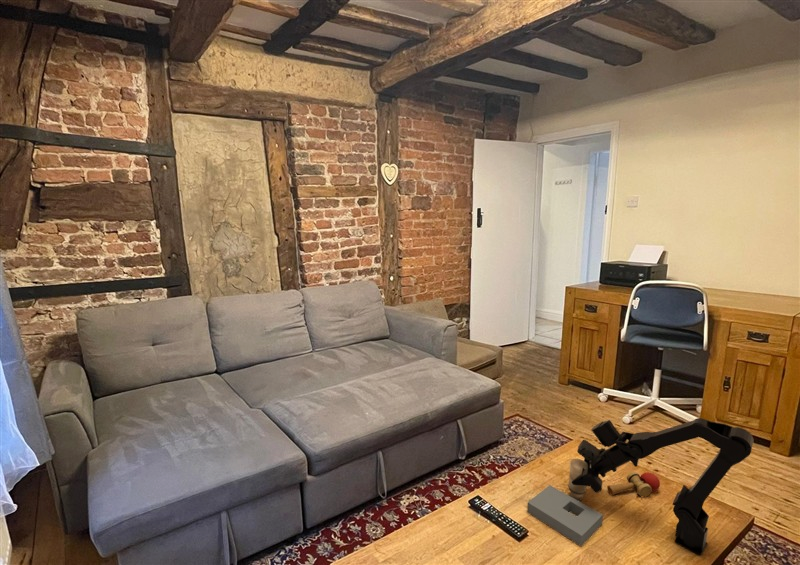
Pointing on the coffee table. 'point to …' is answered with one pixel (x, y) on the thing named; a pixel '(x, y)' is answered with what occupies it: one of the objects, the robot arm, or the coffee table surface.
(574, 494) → the peg
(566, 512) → the board
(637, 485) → the kendama
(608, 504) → the coffee table surface
